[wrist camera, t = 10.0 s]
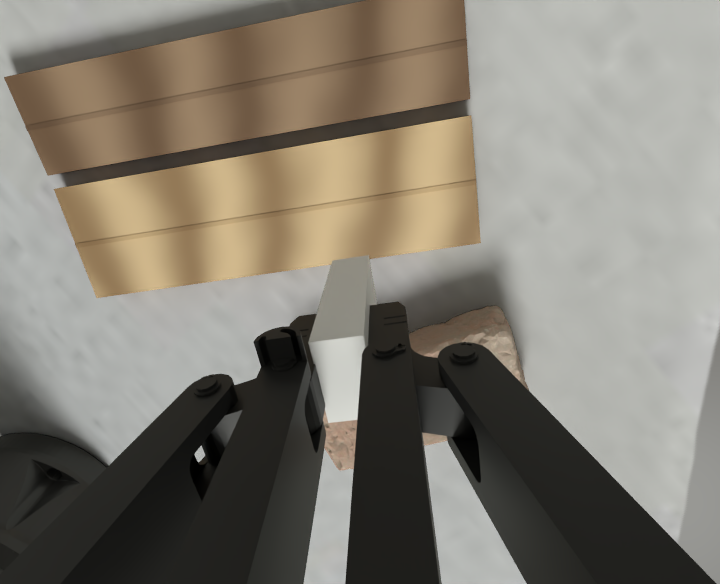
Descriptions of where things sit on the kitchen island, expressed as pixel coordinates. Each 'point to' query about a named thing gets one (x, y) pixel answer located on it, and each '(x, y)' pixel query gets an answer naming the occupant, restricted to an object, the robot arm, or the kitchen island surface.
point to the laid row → (246, 82)
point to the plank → (278, 209)
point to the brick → (429, 341)
